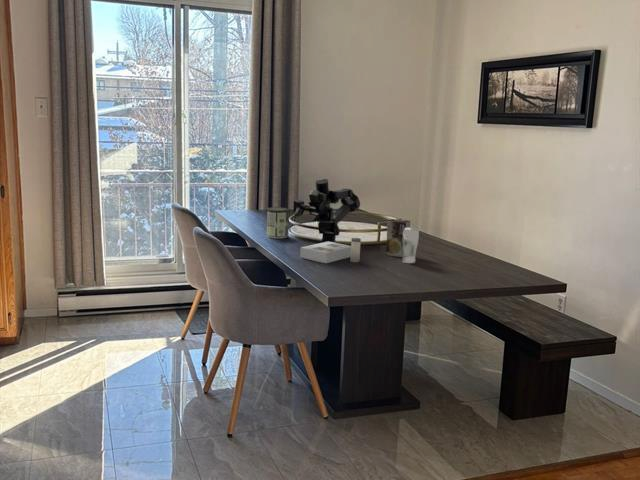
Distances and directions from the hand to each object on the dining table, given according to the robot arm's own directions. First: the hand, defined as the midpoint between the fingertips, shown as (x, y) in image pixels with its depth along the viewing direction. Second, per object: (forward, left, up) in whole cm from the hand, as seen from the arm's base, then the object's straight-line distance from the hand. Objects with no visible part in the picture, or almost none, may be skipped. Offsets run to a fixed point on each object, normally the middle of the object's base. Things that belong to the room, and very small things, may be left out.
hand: (304, 217), depth 286 cm
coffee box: (-36, +26, -18) cm, 48 cm away
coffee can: (-24, -37, -18) cm, 47 cm away
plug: (-11, +20, -17) cm, 29 cm away
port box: (-8, +7, -17) cm, 20 cm away
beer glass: (-28, +37, -18) cm, 50 cm away
